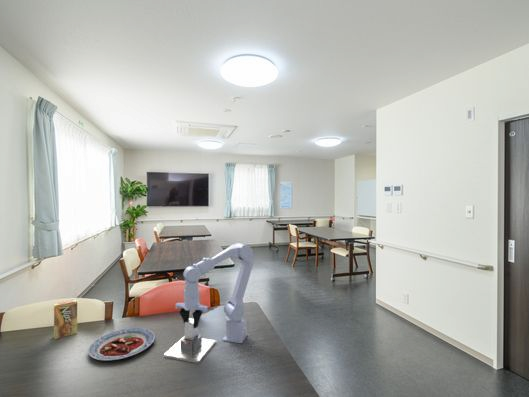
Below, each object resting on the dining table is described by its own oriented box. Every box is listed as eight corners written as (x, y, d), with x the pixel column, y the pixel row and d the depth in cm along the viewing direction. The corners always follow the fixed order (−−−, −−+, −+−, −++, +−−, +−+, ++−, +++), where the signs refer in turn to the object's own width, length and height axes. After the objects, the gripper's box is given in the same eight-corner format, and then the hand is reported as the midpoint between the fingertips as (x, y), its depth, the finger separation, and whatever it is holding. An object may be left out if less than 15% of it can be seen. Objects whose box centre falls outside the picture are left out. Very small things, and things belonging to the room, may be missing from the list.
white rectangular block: (197, 338, 118) (198, 319, 118) (193, 343, 114) (193, 323, 114) (189, 337, 119) (189, 318, 119) (184, 342, 115) (184, 322, 115)
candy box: (76, 330, 132) (76, 299, 132) (77, 333, 129) (77, 301, 129) (53, 336, 127) (53, 303, 127) (54, 339, 123) (54, 306, 123)
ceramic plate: (128, 369, 103) (128, 361, 103) (72, 360, 108) (72, 353, 108) (166, 335, 128) (166, 329, 128) (119, 330, 133) (119, 324, 133)
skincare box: (200, 318, 146) (200, 290, 146) (190, 321, 142) (190, 293, 142) (192, 313, 152) (193, 287, 152) (183, 316, 148) (183, 289, 148)
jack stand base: (216, 342, 122) (216, 331, 122) (198, 363, 106) (198, 350, 106) (184, 337, 126) (184, 326, 126) (163, 356, 110) (163, 344, 110)
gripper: (171, 296, 114) (171, 328, 114) (202, 300, 110) (202, 333, 110) (180, 291, 121) (180, 321, 121) (210, 294, 117) (209, 325, 117)
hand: (191, 326), depth 116 cm, fingers closed on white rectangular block, 4 cm apart
